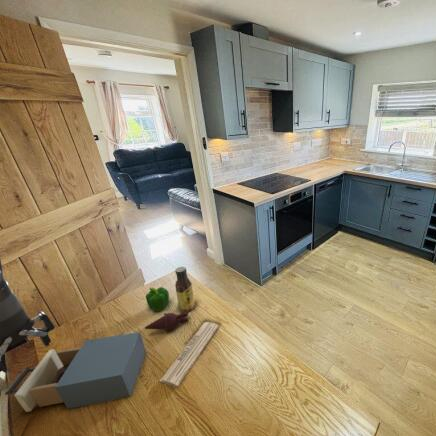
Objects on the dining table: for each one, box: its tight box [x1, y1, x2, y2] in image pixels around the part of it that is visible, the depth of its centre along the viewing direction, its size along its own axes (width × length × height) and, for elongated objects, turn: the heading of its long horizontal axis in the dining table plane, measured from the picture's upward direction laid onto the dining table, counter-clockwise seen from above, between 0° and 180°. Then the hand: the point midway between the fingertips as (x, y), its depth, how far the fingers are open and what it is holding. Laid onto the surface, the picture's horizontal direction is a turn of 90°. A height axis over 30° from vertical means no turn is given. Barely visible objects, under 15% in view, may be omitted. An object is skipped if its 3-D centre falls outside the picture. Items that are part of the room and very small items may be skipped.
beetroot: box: [144, 311, 189, 333], centre depth 92 cm, size 7×7×15 cm
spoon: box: [50, 365, 69, 384], centre depth 71 cm, size 10×3×2 cm, turn 10°
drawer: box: [4, 346, 82, 413], centre depth 71 cm, size 20×14×8 cm
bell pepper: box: [145, 286, 170, 312], centre depth 101 cm, size 8×8×10 cm
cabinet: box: [55, 331, 147, 410], centre depth 73 cm, size 16×15×10 cm
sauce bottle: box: [174, 266, 196, 313], centre depth 99 cm, size 7×6×20 cm
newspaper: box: [158, 321, 219, 388], centre depth 84 cm, size 24×7×2 cm, turn 165°
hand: (26, 356), depth 66 cm, fingers open, 8 cm apart
